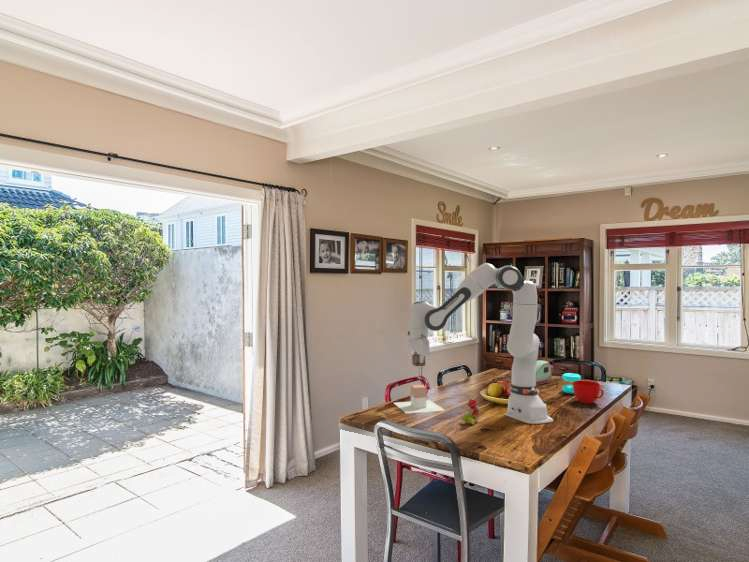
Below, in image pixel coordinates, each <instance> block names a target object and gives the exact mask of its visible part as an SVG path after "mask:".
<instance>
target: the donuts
mask: <svg viewBox="0 0 749 562" xmlns="http://www.w3.org/2000/svg"><path fill="white" fill-rule="evenodd" d="M561 378H562V379H563V381H565V382H569V383H570V382H572V383H573V382H574V381H582V380H581V379H582V376H581V375H580V374H578V373H573V372H572V373H570V372H568V373H564V374H562V376H561ZM561 390H562V392H563V393H567V394H572V395H573V394H574V390H573V384H565V385H563V386H562V387H561ZM574 395H575V394H574Z"/></svg>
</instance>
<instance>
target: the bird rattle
mask: <svg viewBox="0 0 749 562" xmlns="http://www.w3.org/2000/svg"><path fill="white" fill-rule="evenodd" d="M466 405H467V407H469V410H468V412H467V413H464V414H463V415H464V416H462V417H461V421H463V422H464V423H465V424H469V423H471V424H470V425H474V426H475V425H476V423H477V422H478V419H480V416H481V414H482V413H481V408H480V407H479V406H478V405H479V403H478V401H477V399H472V398H469V400H468V402H467V403H466Z"/></svg>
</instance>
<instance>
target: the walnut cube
mask: <svg viewBox="0 0 749 562" xmlns="http://www.w3.org/2000/svg"><path fill="white" fill-rule="evenodd" d="M419 359H420V354H419V353H418V354H414V353H413V354H412V359H411V364H412V366H414V367H425V366H426V355H425V356H424V359H423V363H420V362H419Z"/></svg>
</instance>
